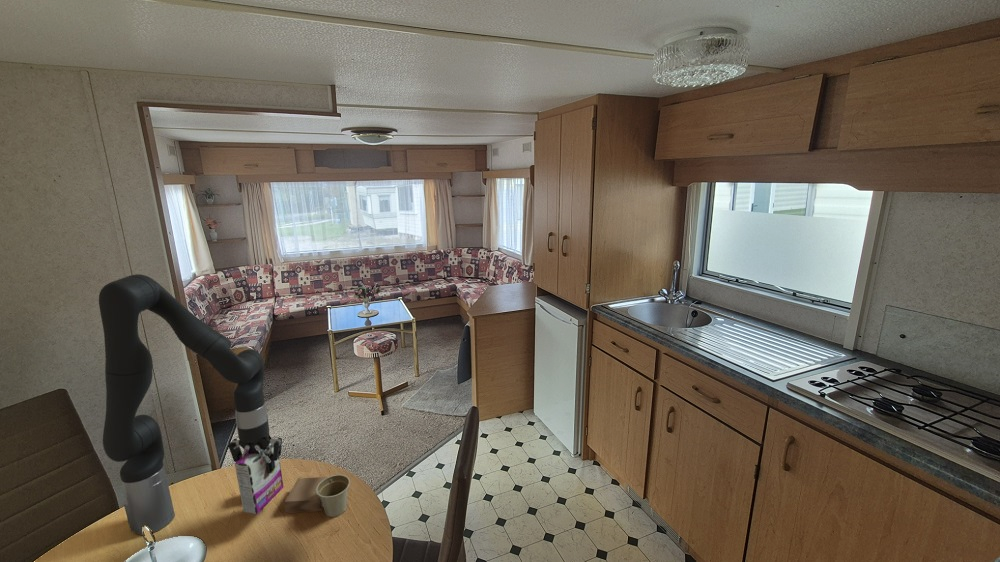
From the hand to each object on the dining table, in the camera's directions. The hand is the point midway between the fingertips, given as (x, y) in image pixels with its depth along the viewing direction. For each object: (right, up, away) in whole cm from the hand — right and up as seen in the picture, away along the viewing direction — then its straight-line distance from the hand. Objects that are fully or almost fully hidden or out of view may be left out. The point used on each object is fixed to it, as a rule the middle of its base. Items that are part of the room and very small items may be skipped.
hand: (259, 471), depth 120 cm
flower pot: (+20, -14, +6) cm, 25 cm away
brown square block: (+10, -13, +10) cm, 19 cm away
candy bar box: (0, -9, +2) cm, 10 cm away
